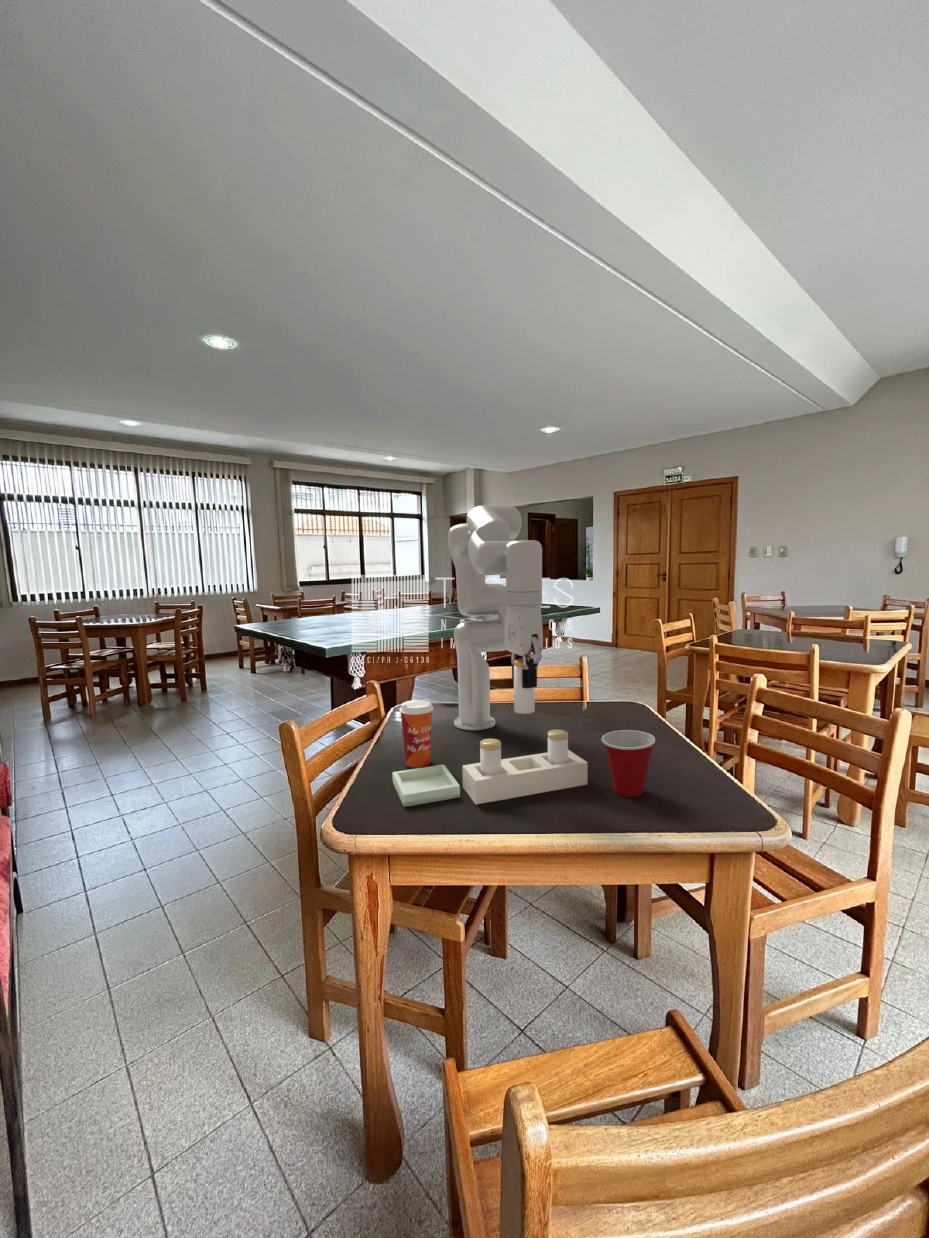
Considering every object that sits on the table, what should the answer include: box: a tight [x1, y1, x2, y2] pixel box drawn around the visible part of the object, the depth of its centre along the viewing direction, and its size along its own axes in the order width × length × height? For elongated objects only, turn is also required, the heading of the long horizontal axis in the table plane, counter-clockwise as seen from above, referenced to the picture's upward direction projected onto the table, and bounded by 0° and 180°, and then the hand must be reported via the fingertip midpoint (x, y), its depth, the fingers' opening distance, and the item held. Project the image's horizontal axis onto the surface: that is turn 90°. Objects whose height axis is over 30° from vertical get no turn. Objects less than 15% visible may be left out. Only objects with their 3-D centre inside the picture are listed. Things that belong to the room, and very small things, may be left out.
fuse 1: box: [479, 738, 502, 777], centre depth 107 cm, size 4×4×11 cm
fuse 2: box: [547, 729, 569, 765], centre depth 112 cm, size 4×4×11 cm
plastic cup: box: [601, 729, 656, 798], centre depth 106 cm, size 11×11×12 cm
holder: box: [462, 749, 589, 805], centre depth 110 cm, size 8×26×5 cm, turn 109°
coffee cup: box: [399, 699, 434, 769], centre depth 123 cm, size 8×8×15 cm
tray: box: [391, 764, 461, 808], centre depth 109 cm, size 12×12×2 cm
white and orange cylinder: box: [513, 658, 536, 715], centre depth 108 cm, size 4×4×11 cm
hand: (524, 683), depth 108 cm, fingers closed on white and orange cylinder, 4 cm apart
